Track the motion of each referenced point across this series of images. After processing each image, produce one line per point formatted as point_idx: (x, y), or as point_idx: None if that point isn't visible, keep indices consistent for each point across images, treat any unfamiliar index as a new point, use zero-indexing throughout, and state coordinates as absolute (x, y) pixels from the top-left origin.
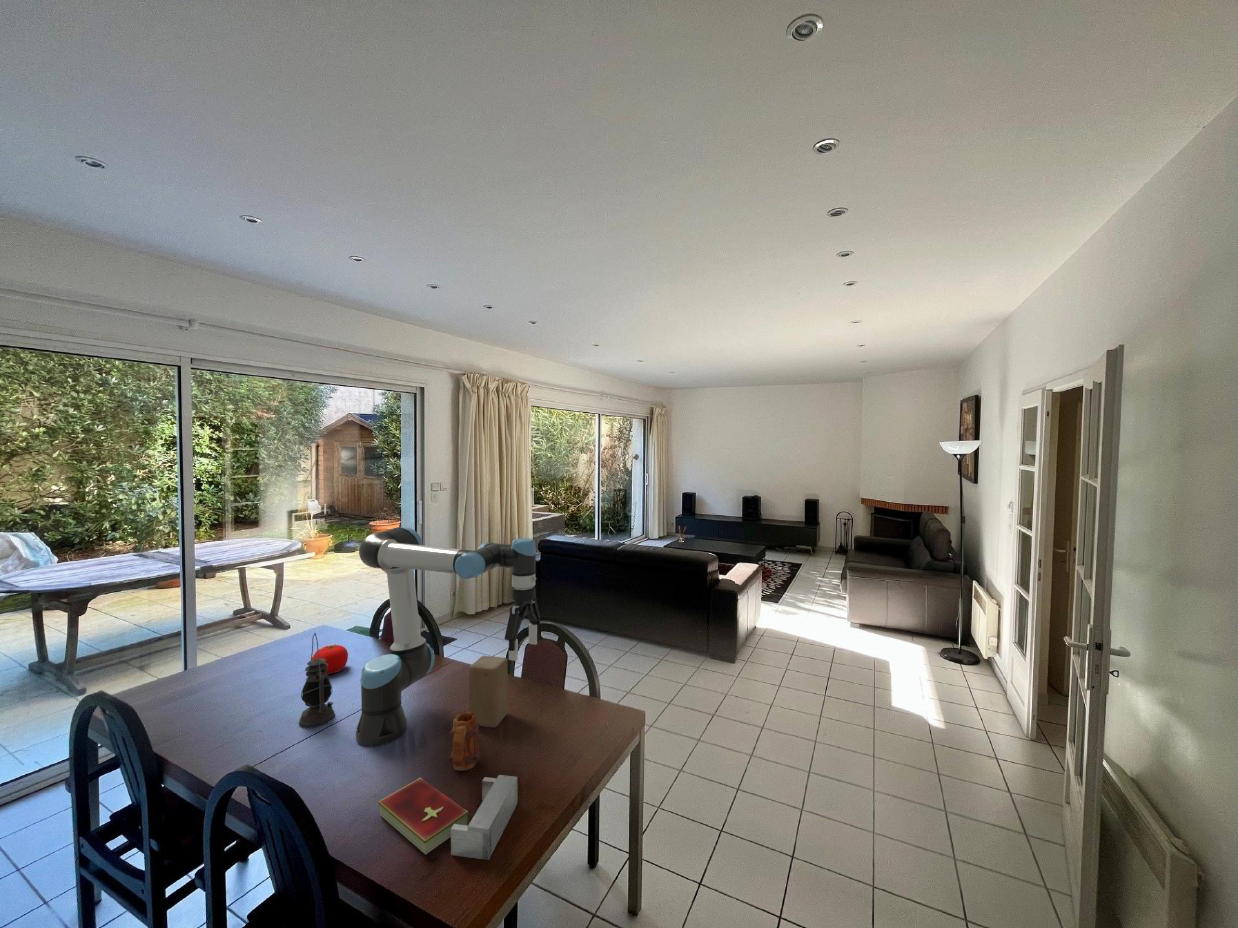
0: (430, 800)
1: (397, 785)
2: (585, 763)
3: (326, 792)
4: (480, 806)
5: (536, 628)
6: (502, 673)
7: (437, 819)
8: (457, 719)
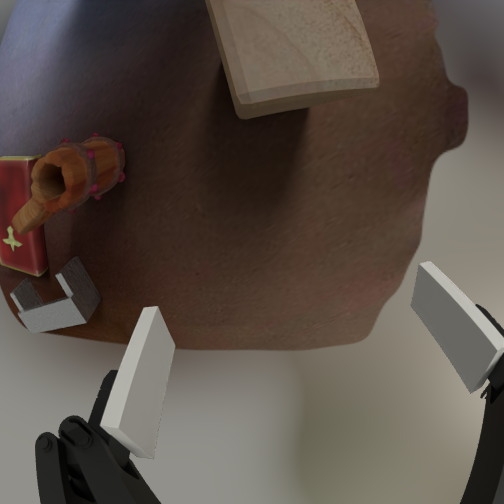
0: None
1: (33, 114)
2: (223, 336)
3: (4, 58)
4: (33, 310)
5: (464, 372)
6: (304, 101)
7: (14, 252)
8: (37, 174)
